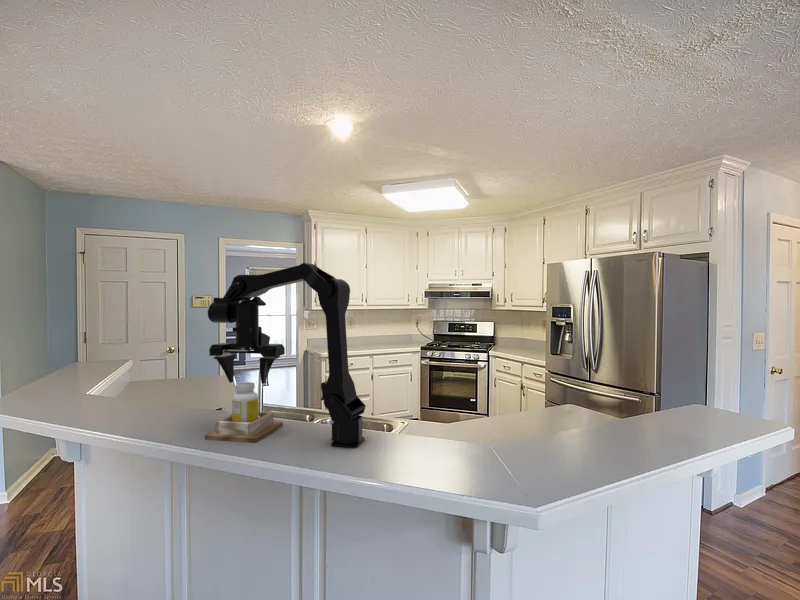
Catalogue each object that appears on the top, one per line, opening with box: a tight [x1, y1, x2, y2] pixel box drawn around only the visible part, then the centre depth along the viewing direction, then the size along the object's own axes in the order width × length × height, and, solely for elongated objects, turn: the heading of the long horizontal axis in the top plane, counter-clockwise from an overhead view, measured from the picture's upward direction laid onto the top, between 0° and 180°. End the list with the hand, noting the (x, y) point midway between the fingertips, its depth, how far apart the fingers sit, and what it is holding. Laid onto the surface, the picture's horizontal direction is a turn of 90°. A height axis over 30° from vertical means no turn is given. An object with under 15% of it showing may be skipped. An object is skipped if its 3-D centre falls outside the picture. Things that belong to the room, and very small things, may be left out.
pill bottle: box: [231, 382, 259, 423], centre depth 112 cm, size 6×6×12 cm
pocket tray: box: [204, 411, 284, 444], centre depth 112 cm, size 14×14×4 cm
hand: (247, 382), depth 112 cm, fingers open, 9 cm apart
